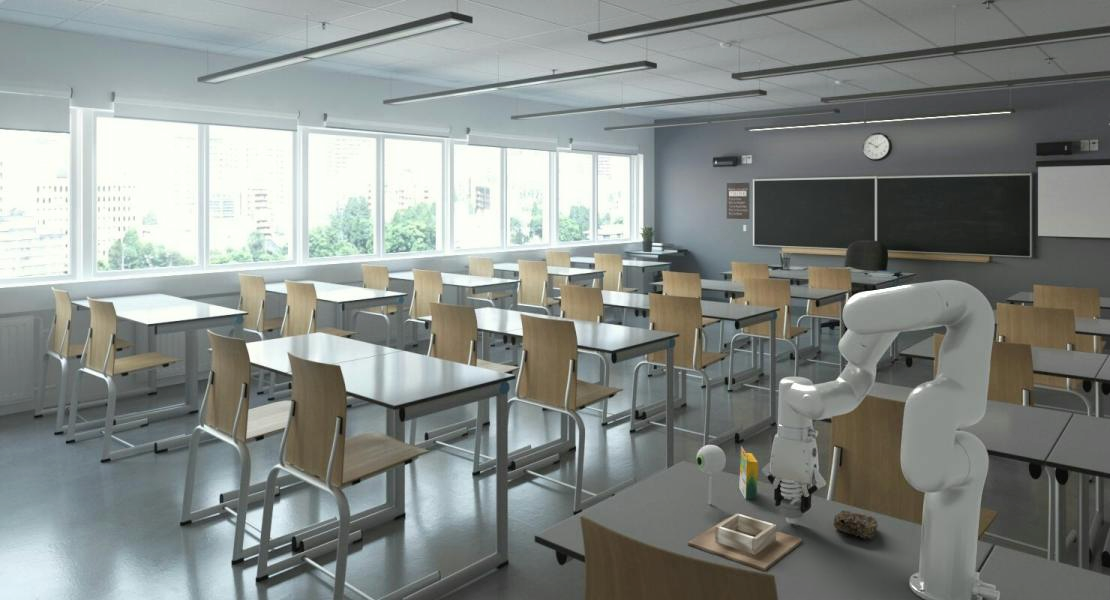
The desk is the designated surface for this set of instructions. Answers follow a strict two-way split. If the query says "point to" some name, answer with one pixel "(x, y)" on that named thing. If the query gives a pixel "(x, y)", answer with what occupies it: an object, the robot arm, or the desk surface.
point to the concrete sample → (856, 524)
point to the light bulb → (791, 500)
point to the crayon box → (748, 475)
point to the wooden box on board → (746, 541)
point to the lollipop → (711, 462)
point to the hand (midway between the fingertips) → (792, 506)
